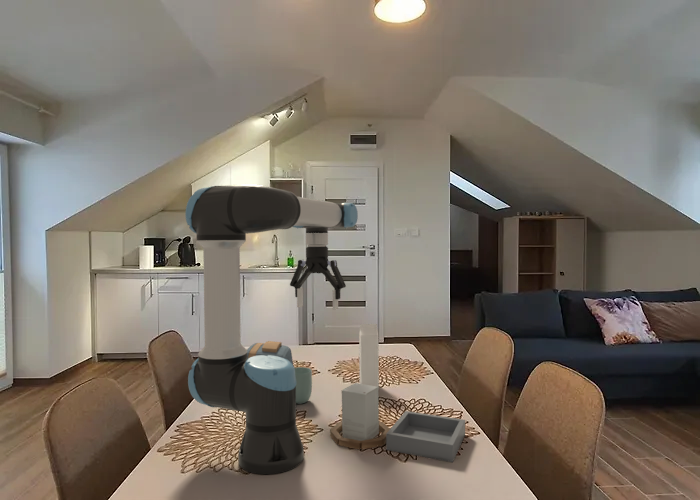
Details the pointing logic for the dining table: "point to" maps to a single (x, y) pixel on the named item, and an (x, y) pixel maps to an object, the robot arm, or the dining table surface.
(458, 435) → the bin
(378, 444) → the ring
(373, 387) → the supplement box
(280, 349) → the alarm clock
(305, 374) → the cup
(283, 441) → the robot arm
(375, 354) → the milk
